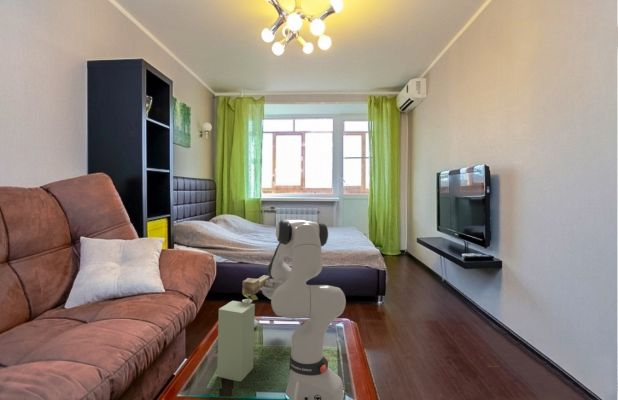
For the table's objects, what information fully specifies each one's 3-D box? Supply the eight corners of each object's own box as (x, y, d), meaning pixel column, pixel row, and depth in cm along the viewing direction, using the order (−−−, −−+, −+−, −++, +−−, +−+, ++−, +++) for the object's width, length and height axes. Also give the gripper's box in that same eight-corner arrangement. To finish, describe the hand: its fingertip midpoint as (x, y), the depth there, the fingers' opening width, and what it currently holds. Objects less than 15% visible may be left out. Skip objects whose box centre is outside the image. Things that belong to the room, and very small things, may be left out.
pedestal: (253, 368, 134) (254, 304, 133) (240, 381, 125) (242, 313, 124) (230, 363, 137) (232, 300, 136) (217, 376, 128) (218, 309, 127)
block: (271, 282, 155) (271, 271, 154) (253, 294, 137) (253, 282, 137) (261, 281, 156) (261, 270, 156) (242, 293, 139) (242, 281, 139)
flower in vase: (230, 327, 171) (231, 279, 170) (246, 320, 180) (247, 274, 179) (248, 335, 163) (249, 284, 162) (264, 327, 173) (266, 279, 172)
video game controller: (304, 338, 166) (310, 326, 165) (296, 333, 166) (302, 321, 165) (307, 329, 175) (314, 318, 174) (300, 325, 176) (306, 313, 175)
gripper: (253, 279, 166) (242, 271, 154) (292, 284, 160) (283, 276, 148) (250, 292, 163) (238, 285, 152) (289, 298, 157) (280, 291, 145)
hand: (261, 281), depth 150 cm, fingers closed on block, 3 cm apart
